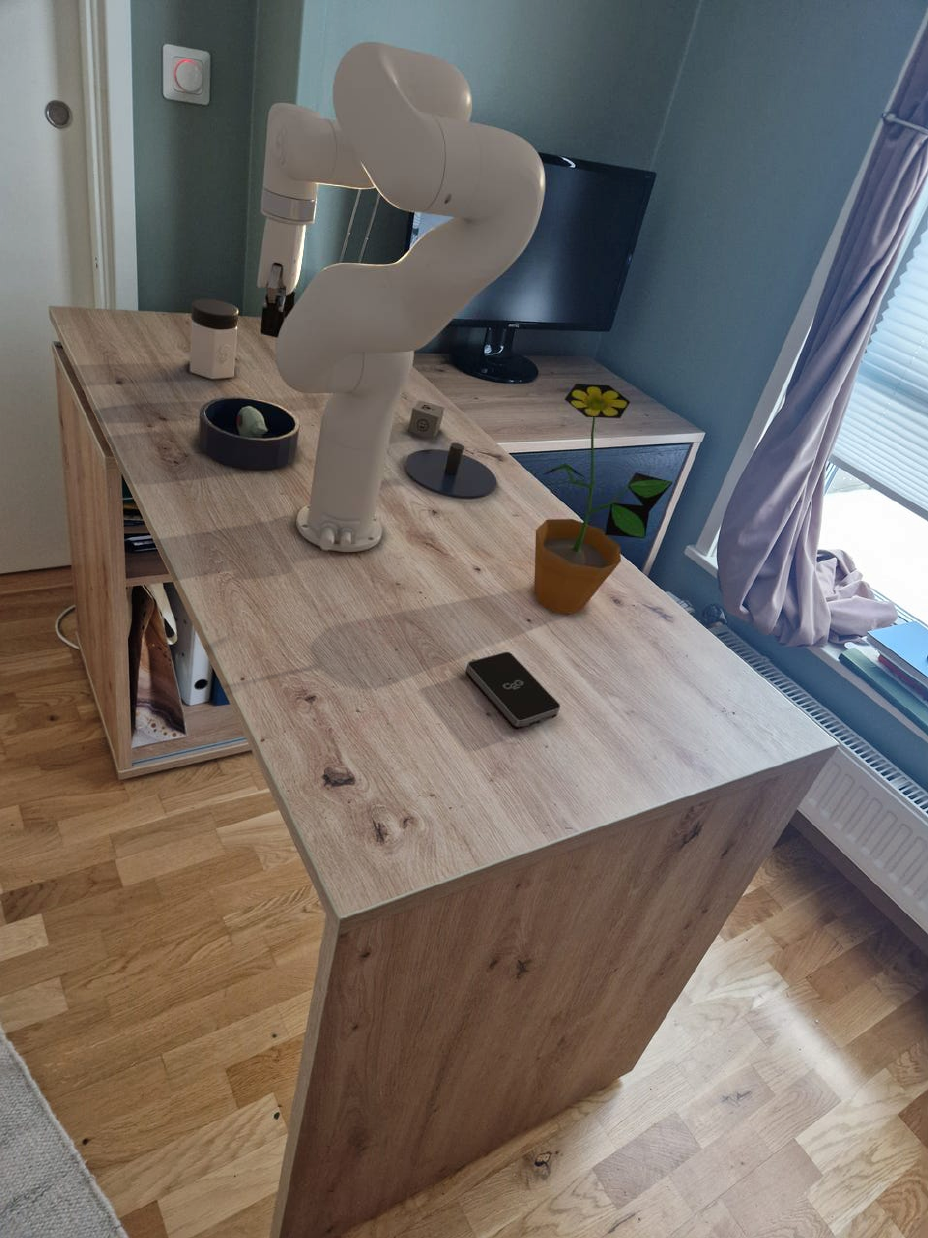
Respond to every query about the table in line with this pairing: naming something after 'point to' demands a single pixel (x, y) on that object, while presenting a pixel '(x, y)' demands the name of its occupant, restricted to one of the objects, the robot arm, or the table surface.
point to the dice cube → (426, 419)
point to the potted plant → (576, 550)
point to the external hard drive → (512, 690)
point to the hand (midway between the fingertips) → (276, 325)
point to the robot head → (250, 423)
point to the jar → (213, 338)
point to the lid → (450, 472)
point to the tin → (243, 452)
